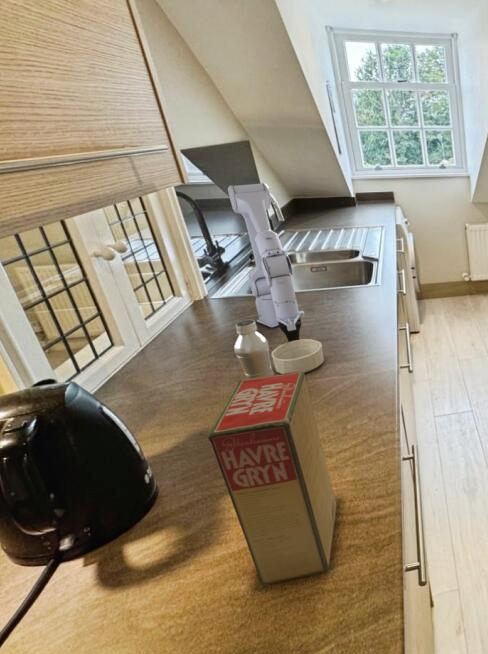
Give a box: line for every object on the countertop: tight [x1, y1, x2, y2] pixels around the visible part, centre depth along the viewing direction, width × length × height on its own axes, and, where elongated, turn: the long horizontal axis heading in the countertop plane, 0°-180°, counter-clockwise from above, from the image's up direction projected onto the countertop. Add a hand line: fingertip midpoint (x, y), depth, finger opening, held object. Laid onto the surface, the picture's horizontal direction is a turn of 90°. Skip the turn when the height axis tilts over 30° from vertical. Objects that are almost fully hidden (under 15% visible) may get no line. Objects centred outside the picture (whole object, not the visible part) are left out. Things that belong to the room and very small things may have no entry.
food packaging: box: [207, 371, 337, 586], centre depth 63 cm, size 13×9×25 cm
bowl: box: [270, 338, 325, 374], centre depth 118 cm, size 12×12×4 cm
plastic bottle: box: [233, 319, 275, 379], centre depth 98 cm, size 6×7×20 cm
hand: (294, 344), depth 127 cm, fingers closed
